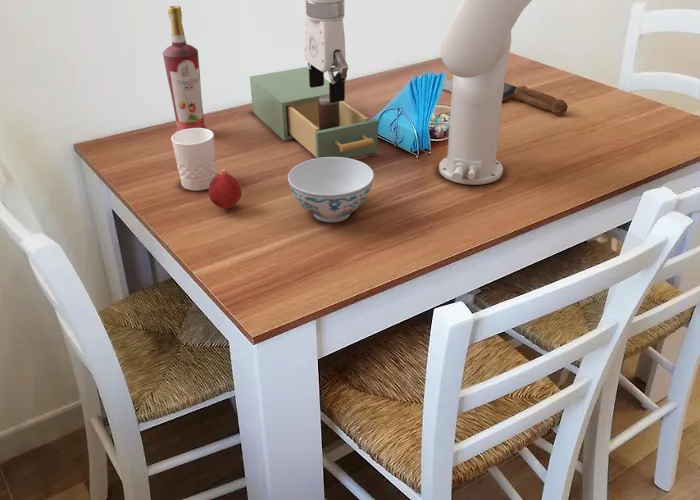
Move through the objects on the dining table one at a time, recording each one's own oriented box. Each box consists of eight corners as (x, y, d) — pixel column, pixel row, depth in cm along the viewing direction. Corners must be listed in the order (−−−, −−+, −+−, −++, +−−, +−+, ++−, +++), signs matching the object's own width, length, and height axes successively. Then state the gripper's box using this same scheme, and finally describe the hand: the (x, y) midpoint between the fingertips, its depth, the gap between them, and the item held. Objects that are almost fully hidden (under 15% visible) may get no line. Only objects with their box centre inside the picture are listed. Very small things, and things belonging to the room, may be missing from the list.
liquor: (181, 144, 156) (161, 13, 141) (171, 133, 161) (151, 5, 146) (213, 137, 158) (196, 8, 144) (202, 126, 164) (185, 1, 149)
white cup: (183, 195, 135) (175, 147, 130) (175, 178, 141) (167, 131, 136) (223, 188, 138) (217, 140, 132) (214, 171, 144) (208, 125, 138)
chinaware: (279, 203, 132) (276, 166, 128) (353, 188, 137) (352, 151, 133) (308, 242, 120) (306, 201, 116) (387, 223, 125) (388, 183, 121)
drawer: (388, 159, 145) (388, 127, 142) (328, 173, 140) (327, 141, 136) (338, 122, 163) (337, 93, 159) (283, 133, 157) (281, 103, 154)
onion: (211, 218, 127) (206, 178, 123) (210, 203, 132) (205, 164, 128) (244, 215, 128) (239, 175, 124) (242, 200, 133) (237, 161, 129)
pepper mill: (336, 143, 150) (335, 102, 145) (316, 140, 151) (314, 100, 146) (342, 135, 153) (341, 95, 148) (323, 133, 154) (322, 93, 150)
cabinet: (344, 128, 162) (343, 91, 157) (284, 141, 156) (281, 102, 152) (308, 101, 177) (307, 66, 172) (252, 112, 171) (249, 76, 167)
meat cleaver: (436, 86, 185) (437, 71, 182) (468, 77, 190) (469, 62, 188) (535, 127, 162) (538, 110, 159) (568, 115, 167) (571, 99, 165)
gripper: (289, 1, 143) (293, 83, 152) (326, 22, 130) (328, 110, 139) (323, -3, 146) (325, 78, 155) (363, 17, 133) (362, 104, 142)
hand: (326, 93), depth 147 cm, fingers open, 9 cm apart
